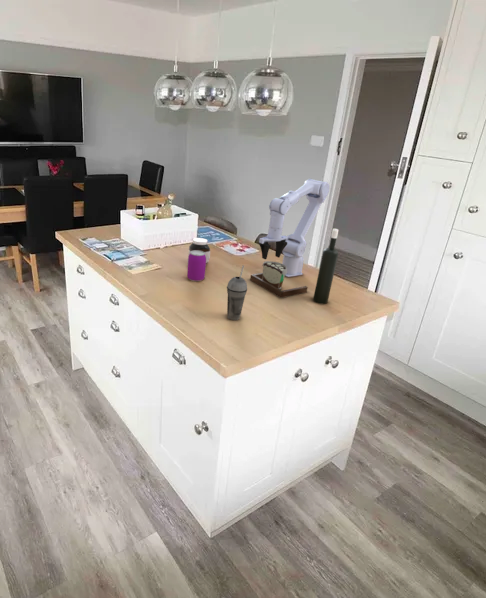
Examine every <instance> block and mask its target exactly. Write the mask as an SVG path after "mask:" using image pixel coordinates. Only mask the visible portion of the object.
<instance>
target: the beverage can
mask: <svg viewBox="0 0 486 598" xmlns="http://www.w3.org/2000/svg"><path fill="white" fill-rule="evenodd" d="M206 265H207V264H206V256H205V252H203V251H199V250H194V251H191V252H190V254H189V256H188V255H187V271H186V272H187V273H186V278H187V279H188V280H189V281H191V282H196V283H197V282H202V281H203V280H204V279H205V277H206V267H207V266H206Z"/></svg>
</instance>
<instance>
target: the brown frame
mask: <svg viewBox="0 0 486 598" xmlns="http://www.w3.org/2000/svg"><path fill="white" fill-rule="evenodd" d="M249 278H250V279H249V280H250V281H251V282H253V283H255V284H256V285H258V286H260V287H261V288H263V289H264V290H266V291H268V292H270V293H272V294H274V295H275V296H277V297H279V298H286V297H290V296H295V295H300V294H305V293H307V292H308V288H309V287H308V286H307V285H304V286H298V287H293V288H289V289H288V288H287V289H284V290H282V289H281V290H280V289H278V288H276V287H274V286H273V285H271V284H269V283H267V282H266V281H264V280H262V279H263V272H260V273H252V274H250V277H249Z"/></svg>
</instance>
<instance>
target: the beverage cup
mask: <svg viewBox="0 0 486 598" xmlns="http://www.w3.org/2000/svg"><path fill="white" fill-rule="evenodd" d="M244 267H245V265H244V264H243V265H242V266H241V271H240V274H239V276H233V277H232V278H230V279H229V280H228V281H227V286H226V292H227V293H226V294H227V305H226V307H227V309H226V310H227V311H226V313H227V319H228V320H231V321H239V320H240V318H241V315H242V311H243V306H244V302H245V298H246V295H247V292H248V283H247V281H246V280H245V279H244V278H243V277H242V275H243V272H244Z"/></svg>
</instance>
